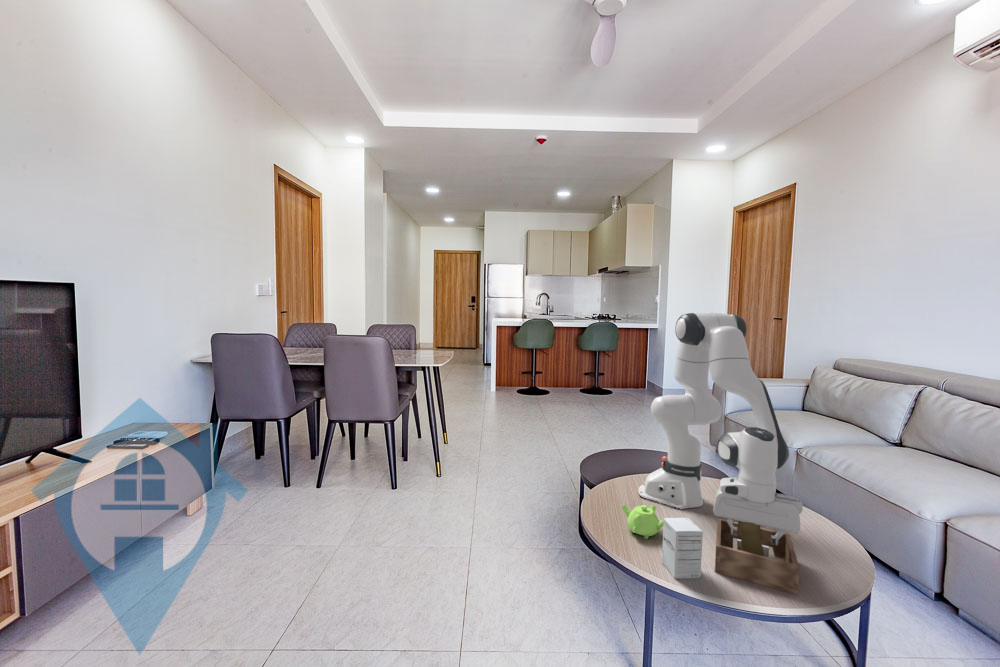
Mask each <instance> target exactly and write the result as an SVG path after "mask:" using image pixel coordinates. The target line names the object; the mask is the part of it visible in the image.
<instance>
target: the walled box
mask: <svg viewBox="0 0 1000 667" xmlns="http://www.w3.org/2000/svg"><path fill="white" fill-rule="evenodd" d="M716 523H717V525H716V539H715V540H716V541H715V558H714V559H715V561H714V572H715V573H717V574H722V575H725V576H727V577H733V578H737V579H740V580H743V581H746V582H750V583H753V584H758V585H760V586H765V587H767V588H772V589H775V590H778V589H779V590H780V591H782V590H783V591H782V592H785V591H786V593H790V594H794V595H796V594H797V595H798V594H799V593H798V590H799V573H800V572H799V571H800V570H799V569H800V566H799V563H798V559H797V554H796V552H795V549H794V545H793V541H792V537H791V534H790V533H788V532H784V533H783V536H782V537H781V538H780V539H779V540H778V545H774V544H771V535H773V536H775V535H776V533H777V530H774V529H773V530H772V529H770V528H766V527H760V531H759V536H760V540H761V543H762V547H763V551H764V554H765V556H761V555H757V554H753V553H749V552H745V551H741V530H740V529H739V526H738V521H733V523H732V524H733V526H734V527H737V536H736V535H732V534H731V528H730V526H729V524H728V523H727V519H723V518H721V517H719V518H718V517H717V522H716ZM779 590H778V591H779Z"/></svg>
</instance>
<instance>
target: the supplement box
mask: <svg viewBox="0 0 1000 667" xmlns="http://www.w3.org/2000/svg"><path fill="white" fill-rule="evenodd" d="M663 519H664V524H663V527H662V528H663V529H662V545H661V546H662V547H661V563H662V564H663V566H664V567H665V568H666V569H667V570H668V572H669V573H670V574H671V576H672V577H673V578H674V579H700V578H701V576H702V575H701V574H702V571H701V570H702V558H703V556H702V554H703V553H702V552H703V537H704V536H703V535H704V532H703V530H702V529H701V528H700V527H699V526H698V525H696V523H694V522H693V521H692V520H691V519H690V518H689V517H664V518H663Z"/></svg>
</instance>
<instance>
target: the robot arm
mask: <svg viewBox="0 0 1000 667" xmlns="http://www.w3.org/2000/svg"><path fill="white" fill-rule="evenodd" d="M747 329H748V328H747V324H746V321H745V319H744V318H743V317H742V316H740V315H737V314H734V313H722V312H702V313H701V312H699V313H694V312H689V313H684V314H681V315H680V316H679V317H678V319H677V320H676V322H675V329H674V330H675V335H676V338H677V339H678V341H679V343H678V346H677V350H676V356H675V366H674V371H673V372H674V373H673V375H674V379H675V381H677V383H679V384H680V385H681V386H683V387H684V390H685V393H684V394H664V395H661V396H657V397H655V398H654V399H653V400H652V403H651V406H650V413H651V416H652V418H653V420H654V421H655V422H656V423H657V424H659V425H660V426H661V427H662V429H663V431H664V433H665V436H666V440H667V456H665V455H663V456H662V458H661V467H660V468H658V469H657V470H654V471H652V472H650V473H649V474H648V475H647V476H646V478H645V482H644V484H645V486H644V485H643V484H642V485H640V486H639V487H638V492H637V494H638V493H639V494H640V495H641V496H643V497H646V498H649V499H652V500H654V501H657V502H661V503H664V504H667V505H670V506H669V507H671V506H673V507H672V508H674V507H676V508H675V509H677V508H680V509H679V510H685V509H690V508H691V509H693V508H694V507H695V508H699V507H702V506H703V505H704V499H703V496H702V495H703V494H702V489H701V478H702V464H701V450H702V448H701V447H702V445H701V442H700V441H699V440H698V438H696V437H695V436H694V435H692V434H690V432H689V426H698V425H699V426H703V425H704V426H705V425H710V424H713V423H716V422H718V421H719V420H720V419H721V416H722V412H723V411H722V406H721V403H720V401H719V400H718V399H717V398H716V397H715V396H714V395H713V393H711V390H710V387H709V386H710V385H709V374H710V377H711V379H712V381H713V382H714V383H715V385H716V386H718V388H720V389H722V390H725V391H726V392H728V393H731V394H733V395H736V396H738V397H740V398H742V399H744V400H746V402H748V404H749V405H750V407H751V409H752V412H753V416H754V419H755V423H756V426H757V427H755V426H753V427H752V426H750V427H749V426H748V427H745V428H743V429H742V430H741V431H734V432H733V431H732V432H726V433H723V434H722V435H721V436H720V437H719V439H718V441H717V443H716V444H717V445H716V446H717V447H716V450H717V455H718V457H719V459H720V460H722V462H723V463H724V464H725V465H727V466H731V467H733V468H734V467H736V468H737V469H738V474H737V475H738V476H733V477H731V476H730V477H723V478H722V477H721V479H720V480H719V481H720V482H719V488H718V489H717V490H716V493H715V495H714V496H715V497H714V502H713V508H712V509H713V510H712V512H713V513H714V516H716V517H719V518H725V519H726V520H727V523H728V524H729V526H730V528H731V534H732V535H736V536H737V527H734V526H733V524H732V523H733V522H734V521H736V522H738V521H742V522H750V523H754V524H756V525H759V526H760V527H763V528H767V529H773V530H776V531H777V533H776V535H775V536H773V535H771V544H774V545H778V540H779V539H780V538H781V537H782V536H783V533H792V534H795V535H796V534H798V533H800V532H801V517H800V514H801V513H802V512H803V502H802V501H801V500H800V499H798V498H797V496H794V495H787V494H784V493H778V492H776V491H777V478H776V471H777V470H779V469H781V468H782V467H784V465H785V464H786V463H787V461H788V460H789V456H790V451H789V446H788V444H787V442H786V440H785V438H784V436H783V434H782V432H781V429H780V426H779V423H778V419H777V416H776V413H775V410H774V407H773V403H772V399H771V398H770V395H769V391H768V388H767V386H766V384H765V382H764V381H763V380H761V379H760V378H759V377H758V376H757V375H756V373H755V372H754V370H753V368H752V365H751V360H750V355H749V350H748V345H747V342H746V336H747ZM640 492H642V493H640ZM654 501H653V502H654ZM657 502H656V503H657ZM661 503H660V504H661ZM664 504H663V505H664ZM667 505H666V506H667Z"/></svg>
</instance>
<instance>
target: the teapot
mask: <svg viewBox="0 0 1000 667" xmlns="http://www.w3.org/2000/svg"><path fill="white" fill-rule="evenodd" d="M620 507H621V509H622V510H623V512H624V514H625V516H626V517H627V520H626V522H627V523H626V524H627V526H628V527H629V530H631V531H632V532H633V533H636V535H640V536H642V537H643V536H644V537H643V539H645V538H649V539H650V537H653V536H654V535H656V534H657V533H659V531H660V530H661V529H662V528H663V524H664V518H663V519H662V520H660V521H659V518H658V516H657V514H656V508H657V507H656V506H655V505H652V504H651V505H650V507H648V506H647V505H645V504H641V505H637V506H634V508H633V509H632V510H631V511H630V509H629V508H628V506H627V505H626V504H623V505H622V506H620ZM633 533H632V534H633Z"/></svg>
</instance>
